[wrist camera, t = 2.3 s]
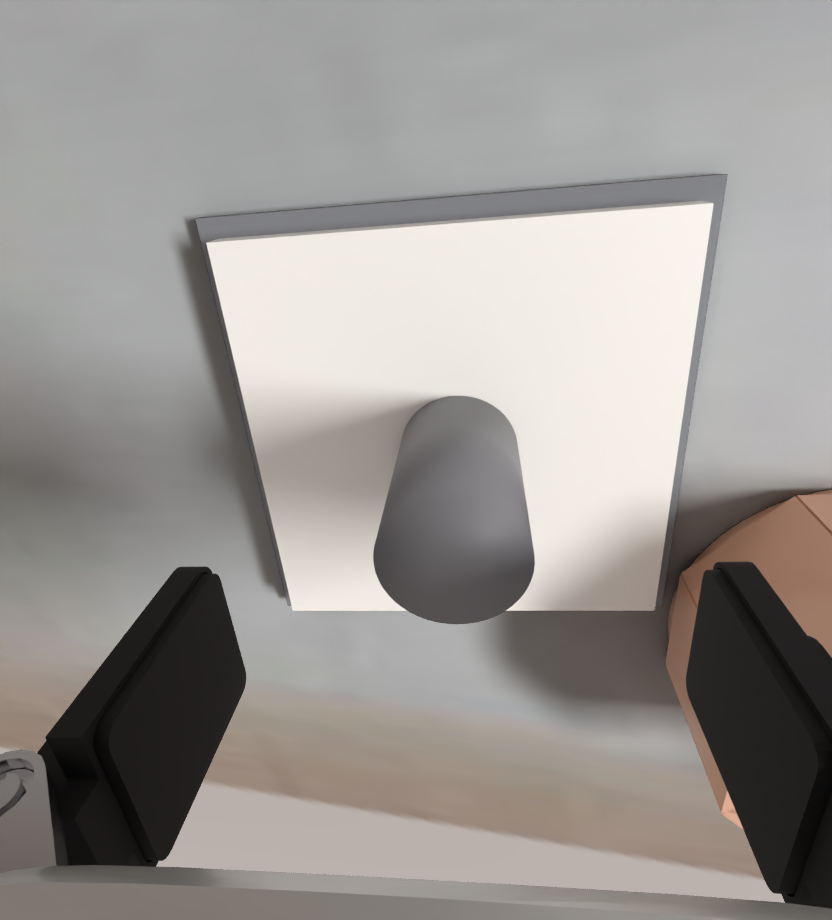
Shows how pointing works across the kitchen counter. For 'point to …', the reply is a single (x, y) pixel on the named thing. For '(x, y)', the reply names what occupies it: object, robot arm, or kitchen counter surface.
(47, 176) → the kitchen counter surface
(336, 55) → the kitchen counter surface
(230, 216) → the mat
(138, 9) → the kitchen counter surface
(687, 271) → the lid
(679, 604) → the bowl
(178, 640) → the robot arm
